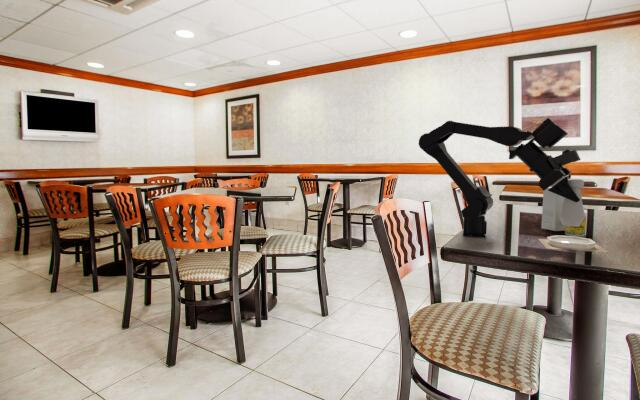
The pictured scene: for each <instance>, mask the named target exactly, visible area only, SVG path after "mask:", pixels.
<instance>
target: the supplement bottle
mask: <svg viewBox="0 0 640 400" xmlns="http://www.w3.org/2000/svg"><path fill="white" fill-rule="evenodd" d="M583 210H585V206H584V205H583ZM584 216H585V218H584V220H583V222H582V223H581V225H580V226H579V227H572V226H565V230H564V234H565V235H566V236H576V237H584V236H586V229H587V228H586V224H587V214H586V212H584Z"/></svg>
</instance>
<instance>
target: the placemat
mask: <svg viewBox="0 0 640 400" xmlns="http://www.w3.org/2000/svg"><path fill="white" fill-rule="evenodd" d="M537 240H538V241H539V242H540V243H541V244H542V245H543V246H544V248H545V249H548V250H562V251H563V250H564V251H574V250H573V249H564V248H559V247H555V246H551V245H549V244H548V239H547V238H537ZM577 251H578V252H579V251H580V252H597V253H598V252H599V253H608V251H607V250H606V249H604V248H603V247H601V246H600V245H598V244H597V243H596V245H595V248H594V249H590V250H577Z"/></svg>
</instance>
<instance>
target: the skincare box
mask: <svg viewBox="0 0 640 400" xmlns="http://www.w3.org/2000/svg"><path fill="white" fill-rule="evenodd" d="M551 187H552V186H550V187H548V188H547V189H546V190H543V189H542V192H543V193H542V195H543V196H542V211H541V212H542V213H541V227H540V228H541V229H542V230H549V231H553V232H561V231H562V232H563V231H565V225H562V223H561V220H560V217H559V215H560V212H561V208H562V205H563V201H564V198H565V197H562V196H560V195H557V194H555V193H553V192H550V191H548V190H549V189H550V188H551Z"/></svg>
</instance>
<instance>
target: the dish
mask: <svg viewBox="0 0 640 400" xmlns="http://www.w3.org/2000/svg"><path fill="white" fill-rule="evenodd" d="M546 239H548V244H549V245H551V246H555V247H559V248H564V249H573V250H572V251H578V250H590V249H594V248H595V245H596V244H597V242H595V240H593V239H592V238H586V237H583V236H572V235H561V234H560V235H559V234H557V235H556V234H555V235H550V236H547V237H546Z"/></svg>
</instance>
